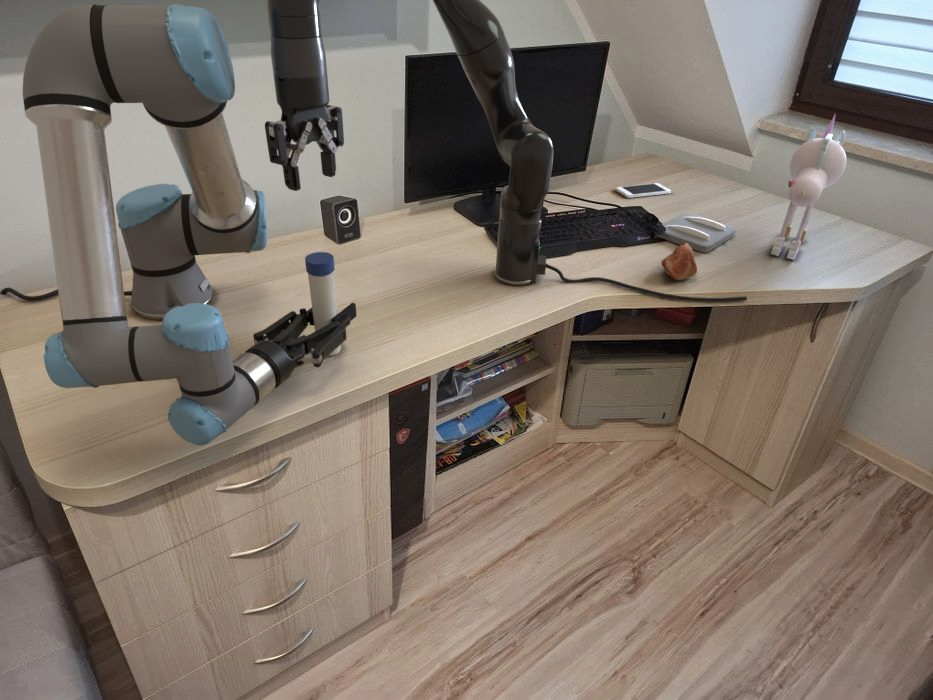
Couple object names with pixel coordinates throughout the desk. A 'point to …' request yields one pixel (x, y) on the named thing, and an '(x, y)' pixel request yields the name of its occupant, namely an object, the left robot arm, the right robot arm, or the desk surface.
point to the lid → (319, 263)
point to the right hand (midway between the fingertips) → (311, 182)
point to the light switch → (697, 232)
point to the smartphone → (642, 190)
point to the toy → (811, 180)
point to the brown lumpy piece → (680, 263)
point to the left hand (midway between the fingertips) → (342, 306)
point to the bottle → (323, 301)
